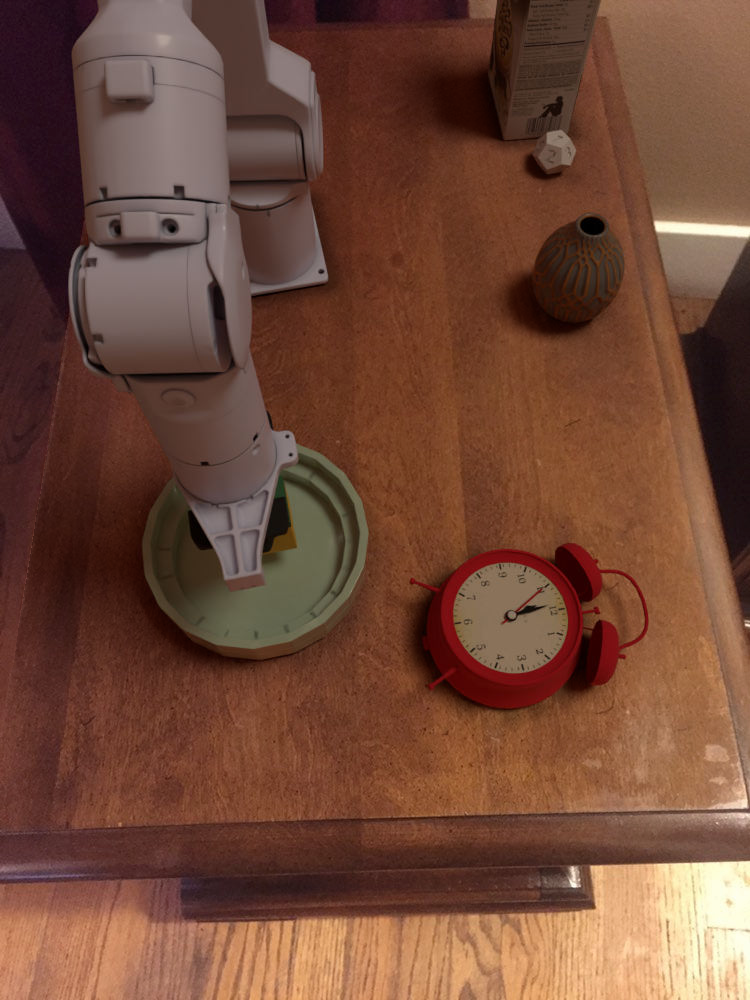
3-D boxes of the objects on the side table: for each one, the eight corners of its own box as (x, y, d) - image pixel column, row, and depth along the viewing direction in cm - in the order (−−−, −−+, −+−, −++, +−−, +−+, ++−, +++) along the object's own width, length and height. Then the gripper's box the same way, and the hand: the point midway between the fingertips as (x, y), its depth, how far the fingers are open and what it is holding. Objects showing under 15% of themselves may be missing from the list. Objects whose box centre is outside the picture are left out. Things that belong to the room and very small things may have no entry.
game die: (523, 161, 74) (528, 134, 71) (556, 145, 75) (562, 118, 72) (546, 186, 73) (552, 159, 70) (579, 170, 74) (586, 142, 71)
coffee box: (485, 75, 79) (506, -108, 64) (550, 69, 79) (587, -115, 65) (501, 143, 75) (528, -35, 61) (570, 136, 75) (613, -43, 61)
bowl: (147, 482, 61) (134, 460, 58) (347, 445, 62) (344, 421, 59) (166, 681, 55) (152, 669, 52) (388, 636, 56) (388, 621, 53)
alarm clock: (399, 556, 54) (626, 502, 52) (417, 583, 60) (622, 536, 58) (427, 713, 50) (676, 663, 48) (443, 726, 56) (667, 682, 53)
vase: (607, 342, 66) (637, 268, 58) (521, 329, 66) (539, 254, 58) (614, 275, 69) (643, 196, 61) (532, 263, 69) (550, 183, 61)
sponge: (224, 562, 55) (211, 537, 51) (218, 517, 56) (205, 488, 52) (297, 548, 55) (290, 521, 51) (289, 503, 57) (282, 474, 53)
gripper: (310, 529, 39) (329, 613, 51) (266, 293, 45) (293, 419, 57) (163, 558, 39) (218, 636, 51) (139, 314, 45) (193, 437, 57)
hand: (250, 522), depth 54 cm, fingers closed on sponge, 3 cm apart
